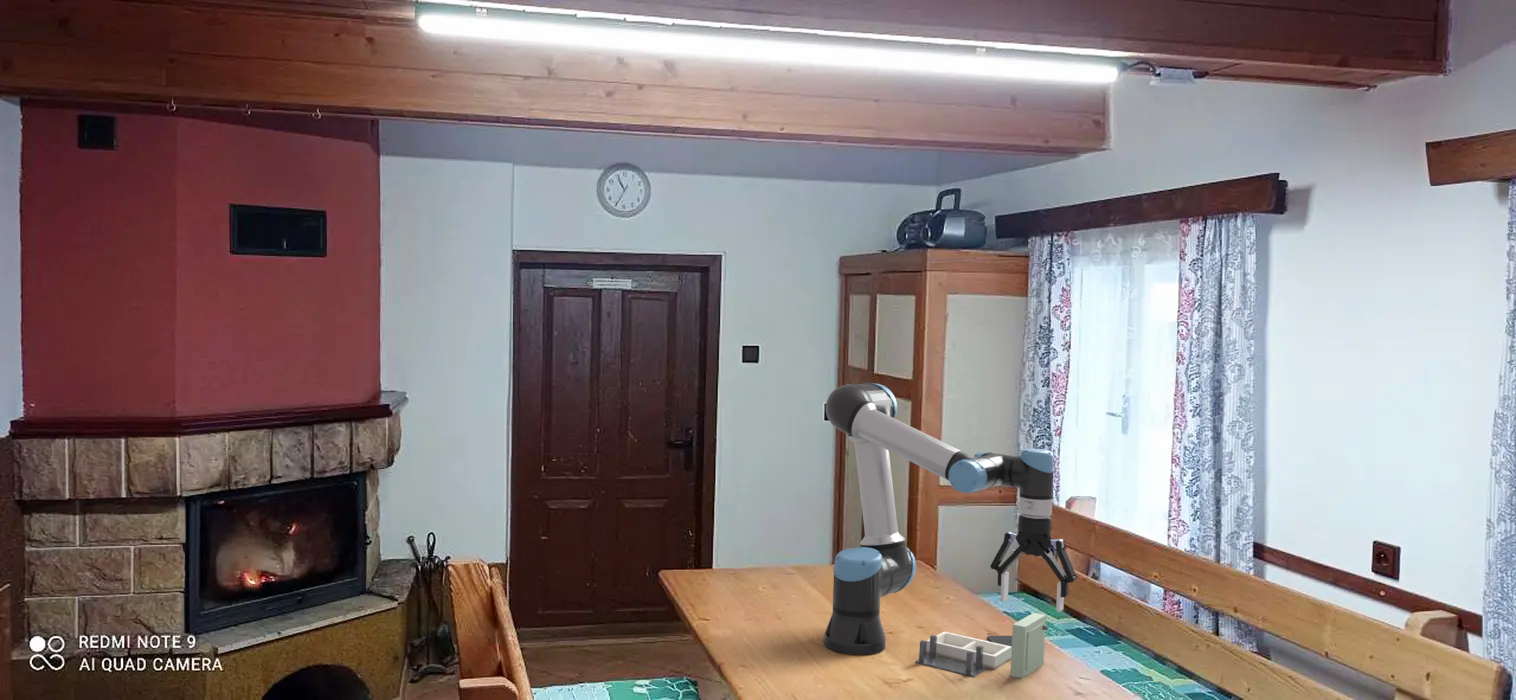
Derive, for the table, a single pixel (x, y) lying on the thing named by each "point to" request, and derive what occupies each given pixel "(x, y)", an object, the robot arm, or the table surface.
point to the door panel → (1028, 645)
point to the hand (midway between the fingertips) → (1031, 605)
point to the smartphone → (1001, 640)
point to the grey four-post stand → (951, 664)
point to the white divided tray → (970, 649)
